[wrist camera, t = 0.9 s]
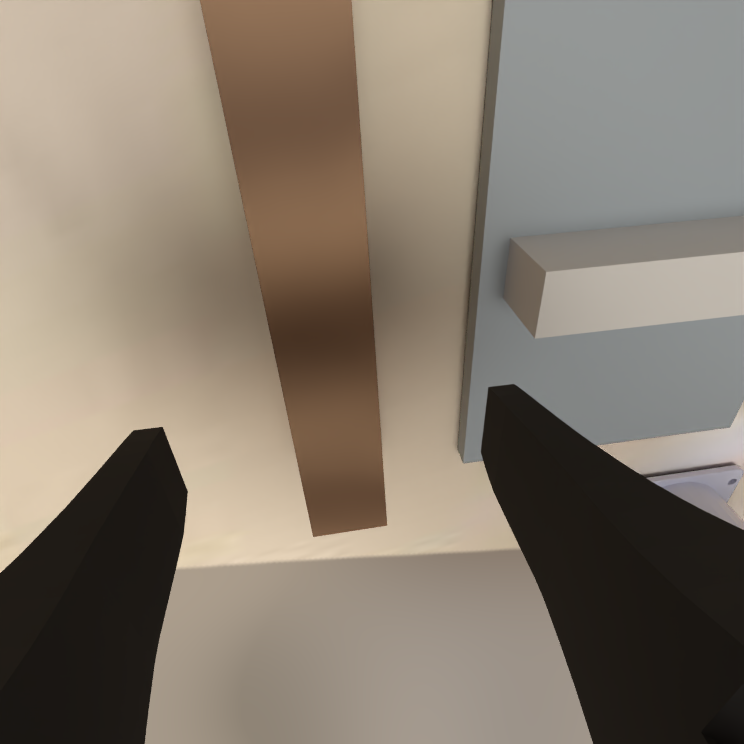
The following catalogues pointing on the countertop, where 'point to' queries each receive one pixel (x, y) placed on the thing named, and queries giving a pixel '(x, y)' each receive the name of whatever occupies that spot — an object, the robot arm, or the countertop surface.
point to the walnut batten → (308, 235)
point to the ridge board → (610, 218)
